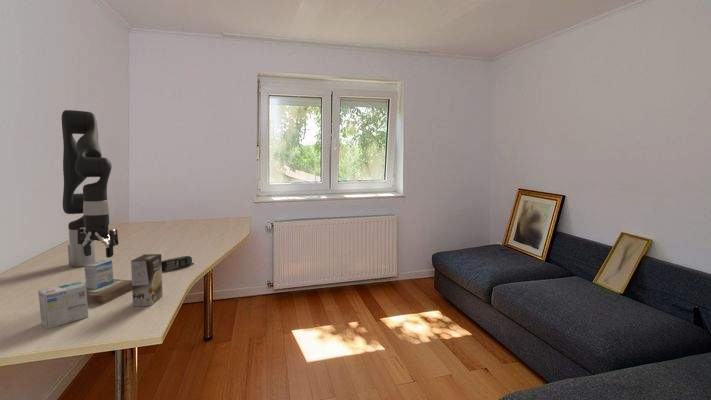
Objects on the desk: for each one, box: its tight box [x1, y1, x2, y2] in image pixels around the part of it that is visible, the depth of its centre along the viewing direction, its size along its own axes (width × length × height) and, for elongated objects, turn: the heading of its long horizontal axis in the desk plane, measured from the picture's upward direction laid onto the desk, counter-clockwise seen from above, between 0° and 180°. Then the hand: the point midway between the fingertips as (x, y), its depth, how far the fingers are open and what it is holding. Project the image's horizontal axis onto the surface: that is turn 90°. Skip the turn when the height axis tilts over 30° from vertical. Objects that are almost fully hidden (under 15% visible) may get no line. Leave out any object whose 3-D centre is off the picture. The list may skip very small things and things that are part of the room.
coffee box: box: [130, 253, 164, 307], centre depth 130 cm, size 9×6×16 cm
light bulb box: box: [37, 280, 89, 330], centre depth 114 cm, size 11×7×11 cm, turn 145°
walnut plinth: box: [84, 278, 132, 305], centre depth 136 cm, size 16×16×3 cm
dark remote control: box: [161, 255, 195, 272], centre depth 169 cm, size 5×3×15 cm
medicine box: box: [84, 259, 114, 289], centre depth 135 cm, size 8×4×9 cm, turn 172°
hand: (98, 256), depth 134 cm, fingers open, 8 cm apart
